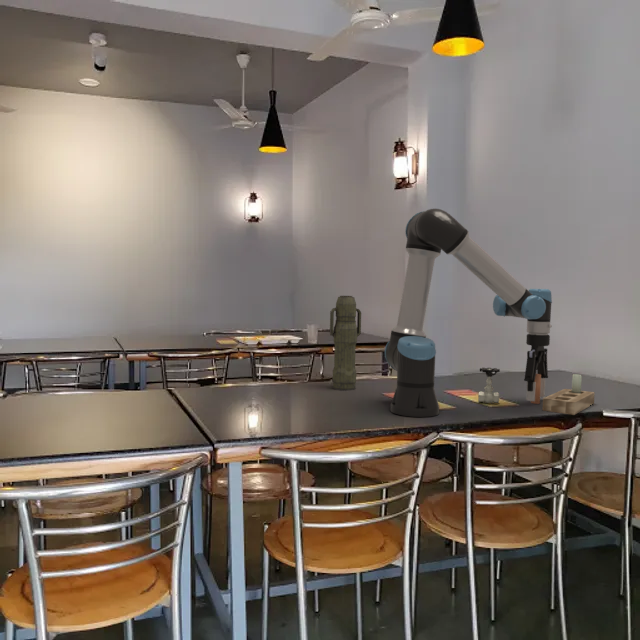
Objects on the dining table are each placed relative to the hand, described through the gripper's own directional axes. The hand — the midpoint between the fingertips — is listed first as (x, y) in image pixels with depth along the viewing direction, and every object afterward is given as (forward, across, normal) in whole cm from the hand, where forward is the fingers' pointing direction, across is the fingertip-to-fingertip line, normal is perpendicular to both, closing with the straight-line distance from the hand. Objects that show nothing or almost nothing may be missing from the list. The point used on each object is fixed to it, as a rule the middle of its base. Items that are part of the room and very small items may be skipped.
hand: (535, 398), depth 219 cm
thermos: (+2, -22, +65) cm, 69 cm away
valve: (+2, -12, +12) cm, 17 cm away
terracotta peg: (+2, 0, 0) cm, 2 cm away
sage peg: (+2, +9, -11) cm, 14 cm away
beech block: (+2, +1, -11) cm, 11 cm away
